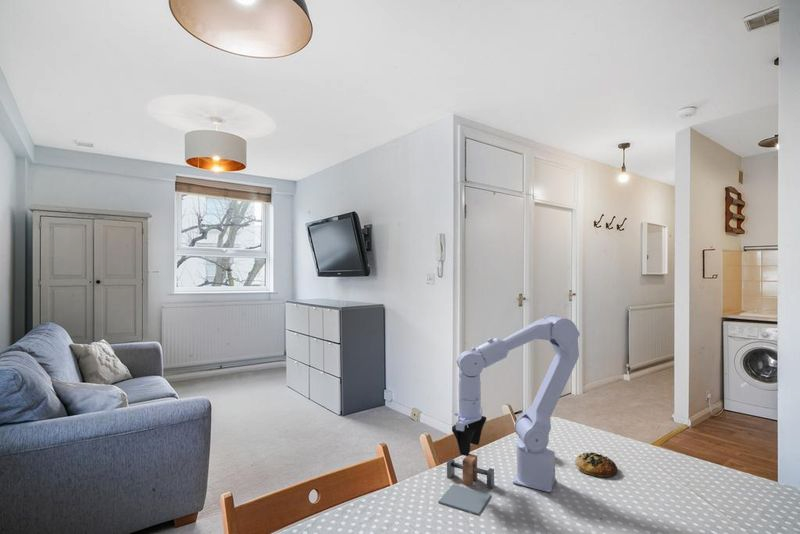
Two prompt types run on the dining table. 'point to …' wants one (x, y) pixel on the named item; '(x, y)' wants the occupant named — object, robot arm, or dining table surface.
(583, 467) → the bread roll
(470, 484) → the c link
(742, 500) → the dining table surface
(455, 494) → the mat
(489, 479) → the bar stand
